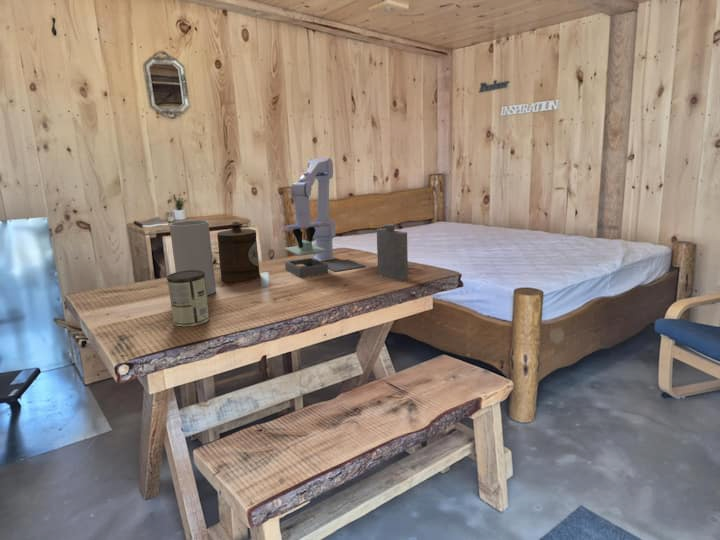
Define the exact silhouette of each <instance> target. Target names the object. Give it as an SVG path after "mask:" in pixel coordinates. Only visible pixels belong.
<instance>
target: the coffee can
mask: <svg viewBox="0 0 720 540" xmlns="http://www.w3.org/2000/svg"><path fill="white" fill-rule="evenodd" d="M204 275H205V272H203V271H200V270H188V271H181V272H176V271H175V272H173V273H169V274H168V275H167V276H166V280H167V286H168V291H169V301H170V306H171V313H172V321H173V325H174V326H175V327H179V326H182V327H181V328H183V327H184V328H186V327H188V326H189V327H194V326H200V325H203V324H204V323H207V322H208V321H210V320H211V317H210V309H209V302H208V296H207V293H206V284H205V276H204Z"/></svg>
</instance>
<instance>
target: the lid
mask: <svg viewBox="0 0 720 540" xmlns="http://www.w3.org/2000/svg"><path fill="white" fill-rule="evenodd" d="M302 245H303V246H302V248H299V245H298V244H297V245H295V246H289V247H288V246H286V247H284V248H283V250H285V251H287V252H289V253H292V254H294V255H296V256H298V257H300V256H308V255H314V254H317V253H321V252H327V250H325V249H323V248H320V247H317V246H315V245H314V244H313V242H309V241H307V239H302Z"/></svg>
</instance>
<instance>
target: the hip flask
mask: <svg viewBox="0 0 720 540" xmlns="http://www.w3.org/2000/svg"><path fill="white" fill-rule="evenodd" d="M395 226H396V225H395V223H387V224H386V223H385V224H384V227H385V228H381V227H380V228H376V250H377V253H376V254H377V255H376V256H377V274H378V275H379V276H381V275H382V276H381V277H384V276H385V277H384V278H387V277H388V279H390V278H391V280H394V279H395V281H399V280H400V281H401V282H407V281H408V280H409V276H408V275H409V271H408V269H409V266H408V265H409V264H408V261H409V259H408V258H409V257H408V232H406V231H397V230H395ZM406 280H407V281H406Z"/></svg>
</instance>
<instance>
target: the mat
mask: <svg viewBox="0 0 720 540" xmlns="http://www.w3.org/2000/svg"><path fill="white" fill-rule="evenodd" d="M325 263H326V264H328V270H330V271H332V272H334V273H337V272H343V271H349V270H355V269H361V268H366V267H367V266H366V265H364V264H362V263H359V262H356V261H353V260H351V259H349V258H348V259H342V260H341V259H339V260H335V261H329V262H325Z"/></svg>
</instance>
